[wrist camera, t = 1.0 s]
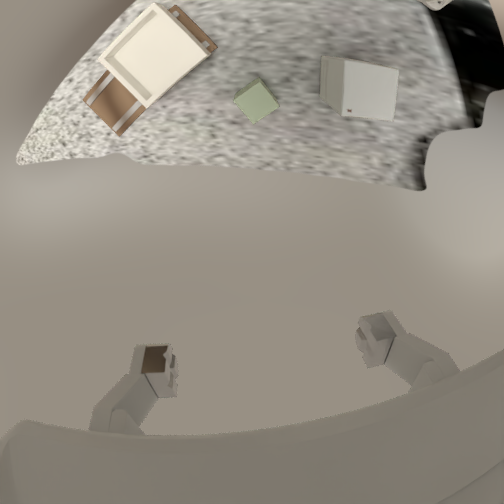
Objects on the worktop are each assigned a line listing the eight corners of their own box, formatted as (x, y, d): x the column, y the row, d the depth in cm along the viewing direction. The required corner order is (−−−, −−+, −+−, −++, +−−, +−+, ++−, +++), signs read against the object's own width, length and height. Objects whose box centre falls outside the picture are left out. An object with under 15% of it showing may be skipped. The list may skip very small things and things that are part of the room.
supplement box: (362, 102, 41) (394, 124, 31) (318, 97, 41) (339, 117, 31) (366, 60, 36) (401, 69, 26) (320, 54, 36) (343, 58, 26)
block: (259, 77, 39) (259, 81, 34) (276, 98, 41) (279, 106, 37) (235, 93, 41) (233, 100, 36) (253, 114, 43) (253, 124, 39)
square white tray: (166, 6, 29) (153, 2, 25) (213, 53, 35) (207, 55, 31) (114, 55, 34) (97, 59, 29) (159, 99, 40) (146, 108, 35)
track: (176, 5, 31) (174, 4, 30) (217, 47, 36) (216, 47, 35) (84, 98, 39) (80, 100, 38) (121, 134, 44) (117, 137, 43)
